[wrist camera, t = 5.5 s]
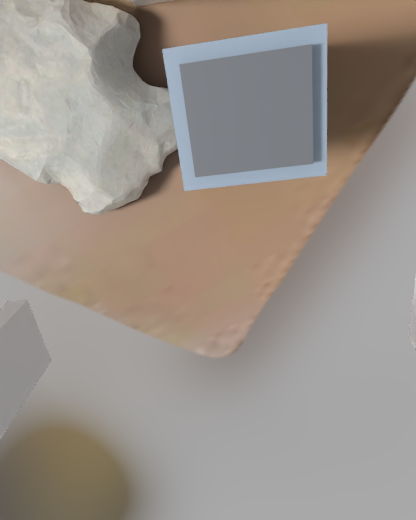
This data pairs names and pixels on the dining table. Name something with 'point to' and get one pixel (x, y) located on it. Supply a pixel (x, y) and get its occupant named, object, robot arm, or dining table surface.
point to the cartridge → (146, 2)
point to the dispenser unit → (250, 107)
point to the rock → (80, 101)
